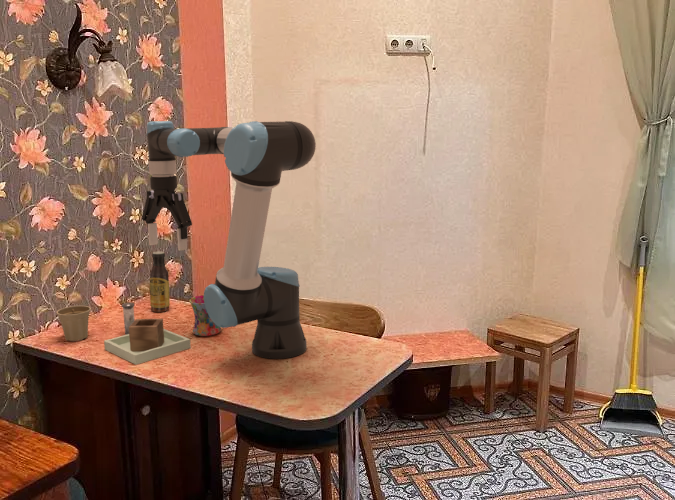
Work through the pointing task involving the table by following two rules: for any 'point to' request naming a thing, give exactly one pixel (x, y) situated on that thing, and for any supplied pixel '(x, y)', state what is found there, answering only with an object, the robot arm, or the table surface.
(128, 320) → the grey salt shaker
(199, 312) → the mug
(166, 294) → the sauce bottle
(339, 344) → the table surface
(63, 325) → the flower pot
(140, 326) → the collar
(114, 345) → the tray
